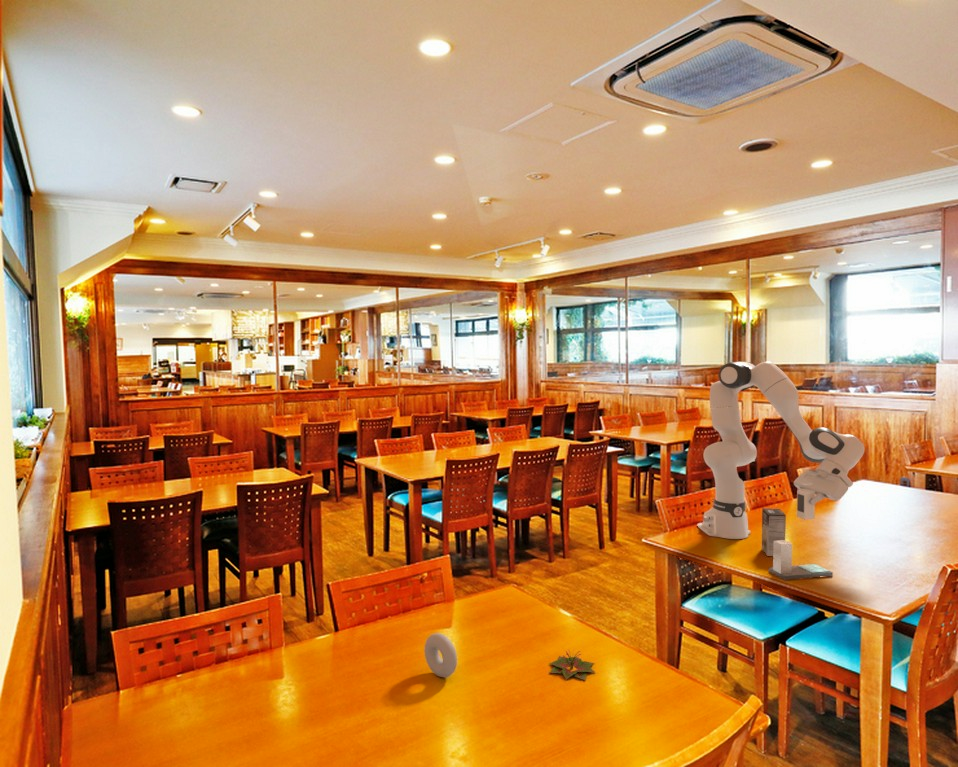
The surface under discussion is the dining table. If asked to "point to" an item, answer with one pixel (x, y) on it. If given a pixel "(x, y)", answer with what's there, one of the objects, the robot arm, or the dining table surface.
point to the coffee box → (772, 528)
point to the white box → (805, 504)
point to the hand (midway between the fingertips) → (805, 501)
